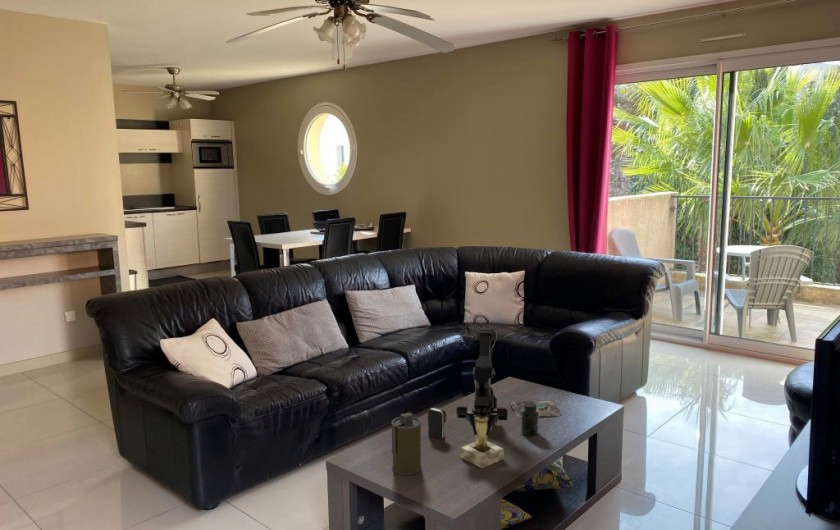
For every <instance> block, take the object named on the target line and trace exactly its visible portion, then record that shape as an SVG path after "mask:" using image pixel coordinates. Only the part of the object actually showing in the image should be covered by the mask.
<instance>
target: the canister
mask: <svg viewBox="0 0 840 530" xmlns="http://www.w3.org/2000/svg"><path fill="white" fill-rule="evenodd" d="M421 426H422V420H421V419H419V417H415V414H414V413H412V412H406V413H401V414H400V416H398V417H396V418H394V419H392V420H391V454H392V467H391V468H392V469H391V470H392V471H393V472H394V473H395V474H398V475H402V476H411V475H415V474H418V473H420V471H421V470H422V464H421V463H422V459H421V457H422V452H421V450H422V449H421V446H422V445H421V444H422V443H421V441H422V440H421V438H422V437H421V436H422V435H421V431H422V430H421V428H422V427H421Z"/></svg>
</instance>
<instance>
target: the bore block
mask: <svg viewBox="0 0 840 530" xmlns="http://www.w3.org/2000/svg"><path fill="white" fill-rule="evenodd" d="M504 450H505V449H504V448H502V447H500V446H498V445H497V444H494V443H492V442H490V441H487V451H486V452H483V453H482V452H480V451H478V450H476V449H475V441H473V442H471V443H468V444H465V445H464V446H460V458H461V459H463V460H466V461H467V462H469V463H470V464H472V465H475V466H476V467H479V468H481V469H484V468H487V467H488V466H489V467H490V466H492V465H493V463H494V464H495V462H496V463H498V462H500V460H501V461H503V460H504V456H505V454H504ZM502 459H503V460H502Z"/></svg>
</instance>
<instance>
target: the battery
mask: <svg viewBox="0 0 840 530" xmlns="http://www.w3.org/2000/svg"><path fill="white" fill-rule="evenodd" d="M427 412H428V413H427V428H428V432H427V435H428V436H430V437H433V438H436V439H440V440H443V439H444V438H445V435H446V434H445V424H446V422H447V413H446V411H445V410H444V409H442V408H439V407H434V406H433V407H432V408H430V409H428V410H427Z"/></svg>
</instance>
